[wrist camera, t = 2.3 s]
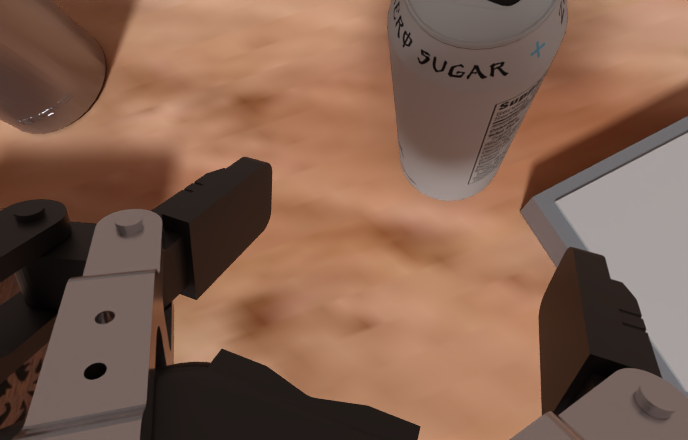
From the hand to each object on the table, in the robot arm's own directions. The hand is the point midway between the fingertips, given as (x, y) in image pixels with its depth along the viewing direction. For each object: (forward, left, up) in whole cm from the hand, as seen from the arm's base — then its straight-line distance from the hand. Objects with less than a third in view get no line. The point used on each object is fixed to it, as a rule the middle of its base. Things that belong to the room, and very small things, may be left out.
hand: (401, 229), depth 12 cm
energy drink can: (-6, +6, -15) cm, 18 cm away
